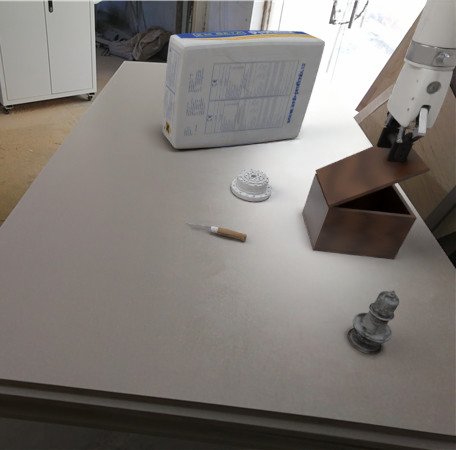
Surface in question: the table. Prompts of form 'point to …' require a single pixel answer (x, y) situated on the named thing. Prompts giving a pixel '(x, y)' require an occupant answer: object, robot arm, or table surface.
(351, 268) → the table surface
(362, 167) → the lid
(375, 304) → the dark grey chess piece
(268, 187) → the mechanical component
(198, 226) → the folding knife
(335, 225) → the chest
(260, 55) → the construction material bag
